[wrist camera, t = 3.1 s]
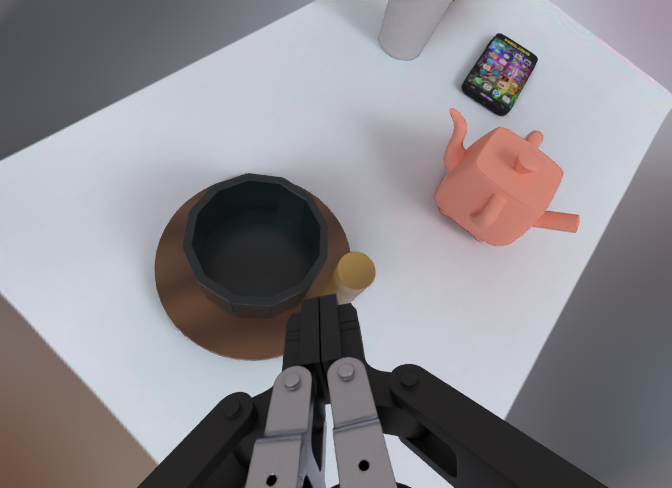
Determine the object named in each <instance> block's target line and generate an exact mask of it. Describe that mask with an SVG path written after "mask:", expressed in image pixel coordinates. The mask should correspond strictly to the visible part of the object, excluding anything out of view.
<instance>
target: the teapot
mask: <svg viewBox="0 0 672 488" xmlns="http://www.w3.org/2000/svg"><path fill="white" fill-rule="evenodd" d="M450 114H451V117H452V119H453V122H454V131H453V134H452V137H451V139H450V141H449V143H448V145H447V147H446V150H445V153H444V164H445V167H446V170H447V174H446V175H445V177H444V178H443V180H442V182H441V183H440V185H439V187H438V189H437V191H436V195H435V201H436V203H437V204H438V206H439V210H440V212H441V213H442V214H443V215H445V216H450V217H451V218H452V219H453V220H454V221H455V222H457V223H458V224H459V225H460V226H461V227H463V228H464V229H466V230H467V231H469V232H470V233H472V234H473V236H474V237H475V238H476V239H477V240H478V241H481V242H483V241H485V242H487V243H489V244H491V245H493V246H504V245H508V244H510V243H512V242H513V241H515V240H516V239H518V238H519V237H520V236H522V235H523V234H524V233H525V232H526V231H528V230H529V229H530V228H531V227H538V228H545V229H552V230H559V231H566V232H572V233H576V231H577V229H578V225H579V220H580V216H579V215H575V214H567V213H559V212H552V211H546V209H547V208H548V206H549V204H550V203H551V201H552V199H553V197H554V195H555V193H556V191H557V189H558V187H559V185H560V182H561V180H562V177H563V171H562V169H561V168H560V167H559V166H558V165H557V164H556V163H555V162H554V161H553V160H551V159H550V158H549V157H548V156H547V155H545V154H544V153H543V152H542V151H540V150H539V149H538V147H539V145H540V144H541V142H542V140H543V135H542V133H541V132H539V131H533V132H531V133H530V134H529V135H528V136H527V137H526V138H525V139H523V138H522V137H520V136H519V135H517V134H515V133H514V132H512V131H510V130H508V129H506V128H503V127H498V128H496V129H494V130H492V131H491V132H489V133H488V134H486V135H484V136H483V137H482V138H480V139H479V140H477V141H476V142H475V143H473V144H472V145H471V146H470V147H469V148H468V149H467V150H465V149H464V147H463V140H464V137H465V135H466V132H467V124H466V121H465V119H464V117H463V116H462V115H461V114H460V113H459V112H458V111H457V110H455V109H453V108H451V109H450Z"/></svg>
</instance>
